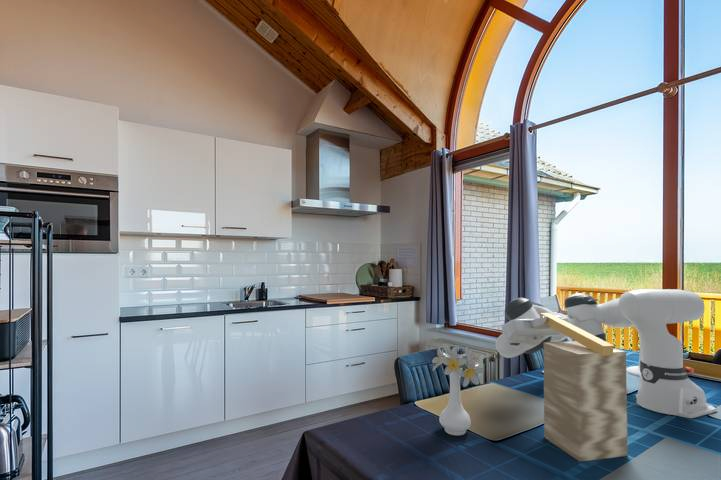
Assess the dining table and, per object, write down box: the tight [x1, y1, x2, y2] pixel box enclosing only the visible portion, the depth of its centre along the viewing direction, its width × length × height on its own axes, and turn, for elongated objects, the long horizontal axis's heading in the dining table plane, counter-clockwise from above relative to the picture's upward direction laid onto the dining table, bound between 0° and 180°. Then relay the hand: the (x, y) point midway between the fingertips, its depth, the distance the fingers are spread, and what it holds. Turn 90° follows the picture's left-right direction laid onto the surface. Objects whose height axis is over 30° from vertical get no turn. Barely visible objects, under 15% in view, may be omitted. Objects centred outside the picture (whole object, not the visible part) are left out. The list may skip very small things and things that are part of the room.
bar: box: [540, 313, 615, 356], centre depth 109 cm, size 3×24×2 cm, turn 13°
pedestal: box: [543, 340, 629, 463], centre depth 105 cm, size 14×13×26 cm
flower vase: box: [431, 343, 485, 436], centre depth 113 cm, size 12×18×24 cm
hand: (552, 318), depth 117 cm, fingers closed on bar, 3 cm apart
